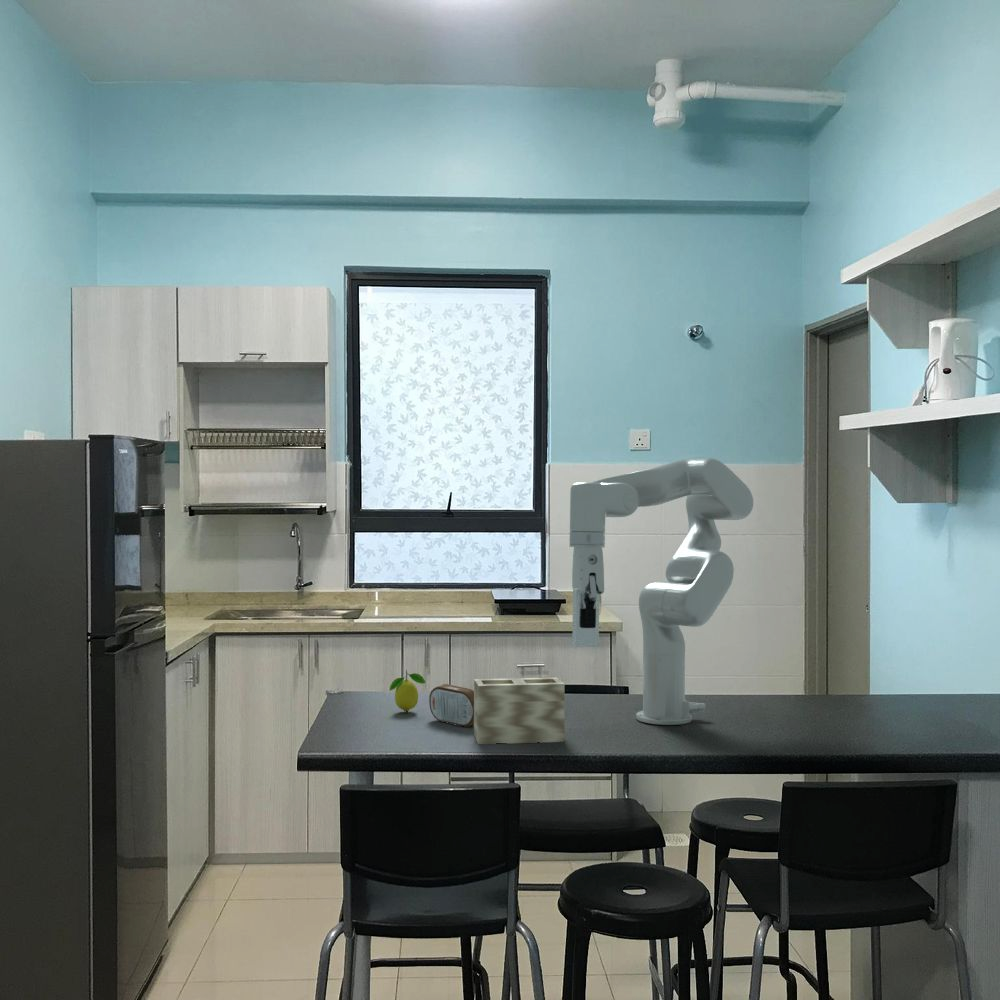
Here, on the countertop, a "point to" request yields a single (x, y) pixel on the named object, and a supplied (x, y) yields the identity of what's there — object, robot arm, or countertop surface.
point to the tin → (452, 704)
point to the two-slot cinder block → (518, 710)
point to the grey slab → (584, 635)
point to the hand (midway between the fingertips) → (585, 626)
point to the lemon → (406, 691)
